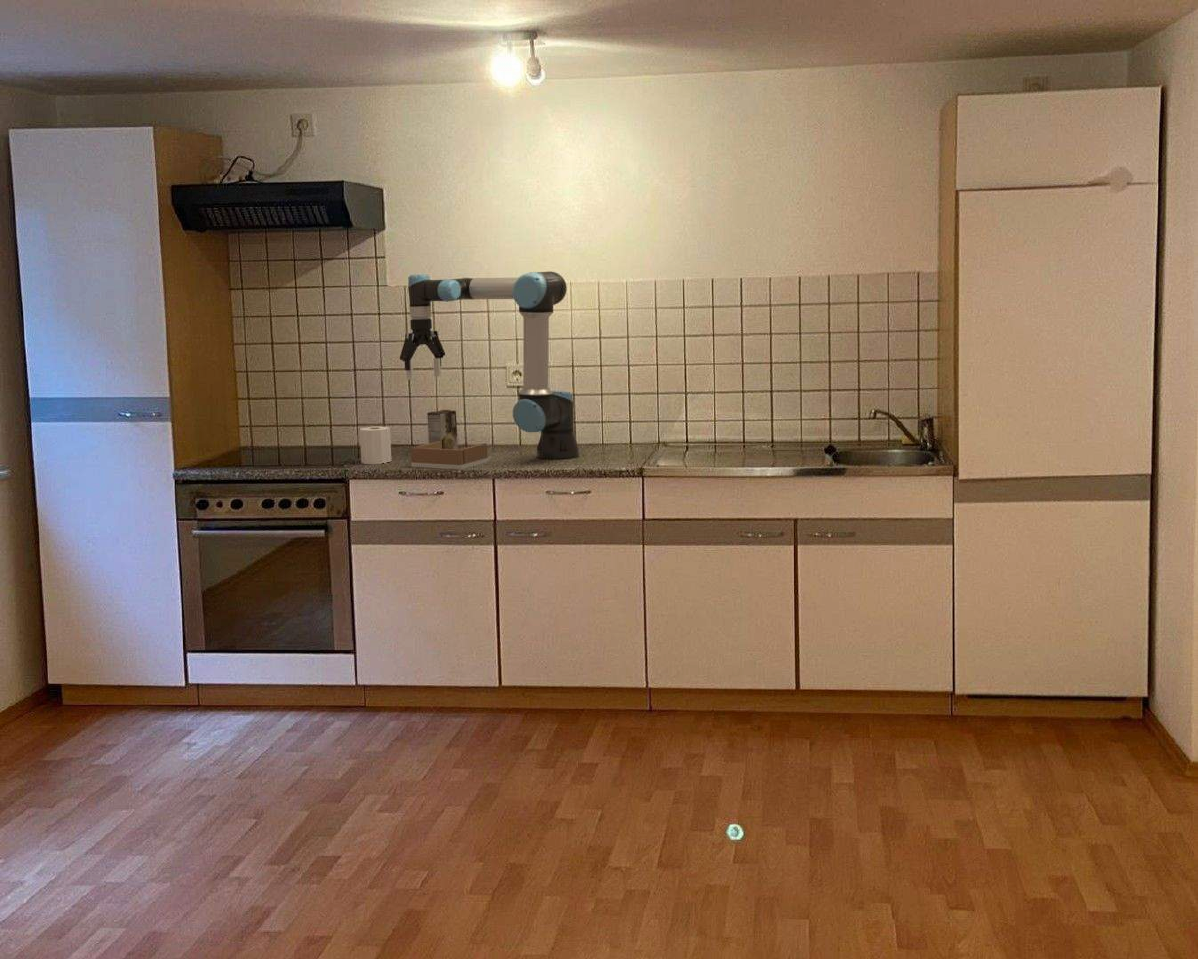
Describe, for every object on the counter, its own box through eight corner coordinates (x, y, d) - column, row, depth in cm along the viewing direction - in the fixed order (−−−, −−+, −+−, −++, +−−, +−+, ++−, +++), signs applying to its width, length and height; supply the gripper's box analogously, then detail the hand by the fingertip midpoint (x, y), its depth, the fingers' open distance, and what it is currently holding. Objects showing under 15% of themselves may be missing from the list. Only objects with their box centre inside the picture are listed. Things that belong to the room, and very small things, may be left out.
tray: (488, 461, 508) (488, 443, 507) (461, 469, 493) (460, 450, 492) (440, 459, 517) (439, 440, 516) (411, 466, 501) (410, 448, 500)
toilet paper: (397, 461, 514) (395, 427, 512) (372, 465, 507) (370, 430, 505) (380, 459, 521) (378, 425, 519) (355, 462, 514) (354, 428, 512)
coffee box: (445, 453, 530) (443, 409, 528) (458, 455, 527) (456, 410, 524) (428, 457, 523) (426, 412, 520) (442, 458, 519) (440, 413, 517)
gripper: (438, 316, 533) (441, 374, 537) (387, 320, 514) (390, 380, 518) (453, 316, 529) (455, 375, 532) (402, 320, 510) (405, 381, 513)
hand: (423, 378), depth 525 cm, fingers open, 13 cm apart
